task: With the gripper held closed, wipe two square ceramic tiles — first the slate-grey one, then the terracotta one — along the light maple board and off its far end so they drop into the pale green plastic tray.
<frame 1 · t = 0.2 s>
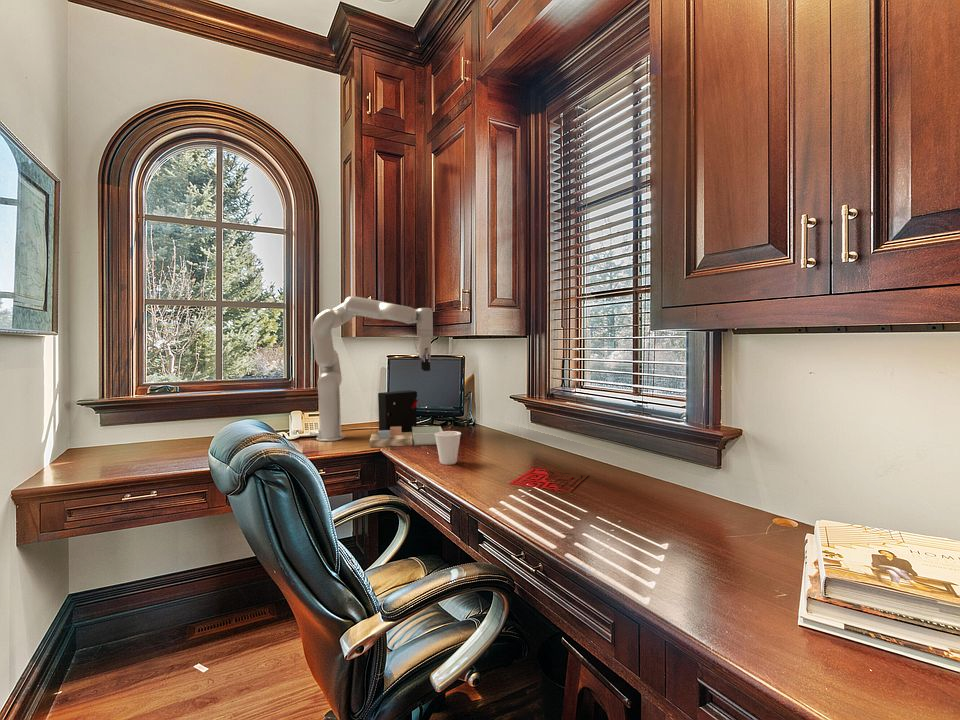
hand: (425, 370, 240), 31 cm above the table, tool pointing down, fingers open, 9 cm apart
board: (391, 442, 224), on the table
maze puzzle: (550, 481, 163), on the table
tray: (427, 441, 227), on the table
cup: (448, 463, 187), on the table
tile slate: (384, 438, 220), point 3 cm above the table, touching board
tile terracotta: (395, 434, 228), point 3 cm above the table, touching board
electrical component: (398, 432, 249), on the table
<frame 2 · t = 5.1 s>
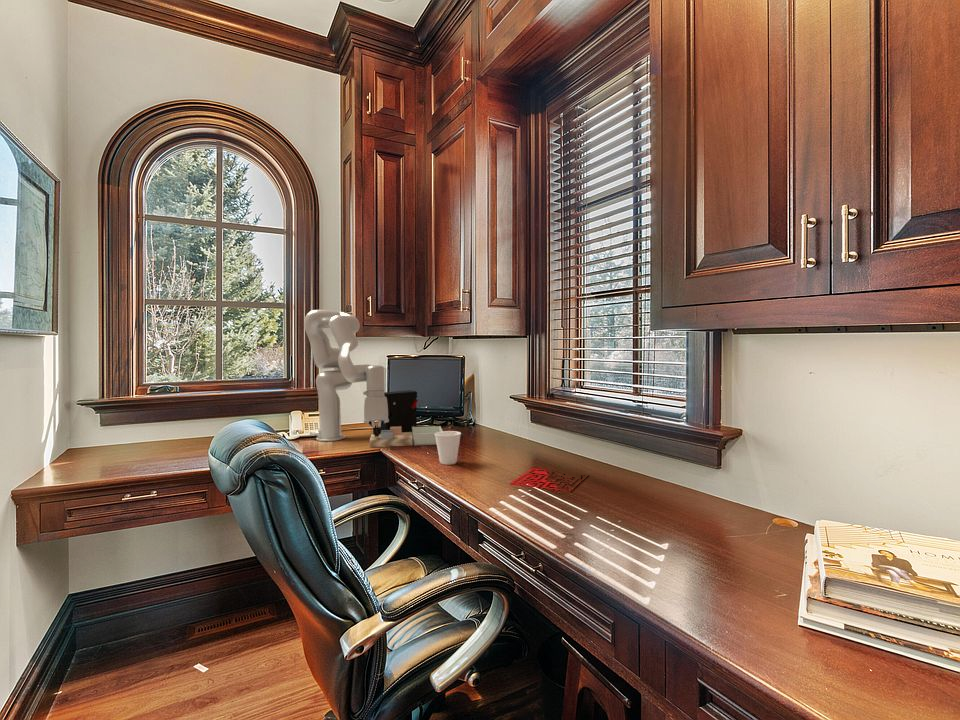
hand: (376, 436, 219), 4 cm above the table, tool pointing down, fingers closed
tile slate: (387, 437, 220), point 3 cm above the table, touching gripper
everything else where it was.
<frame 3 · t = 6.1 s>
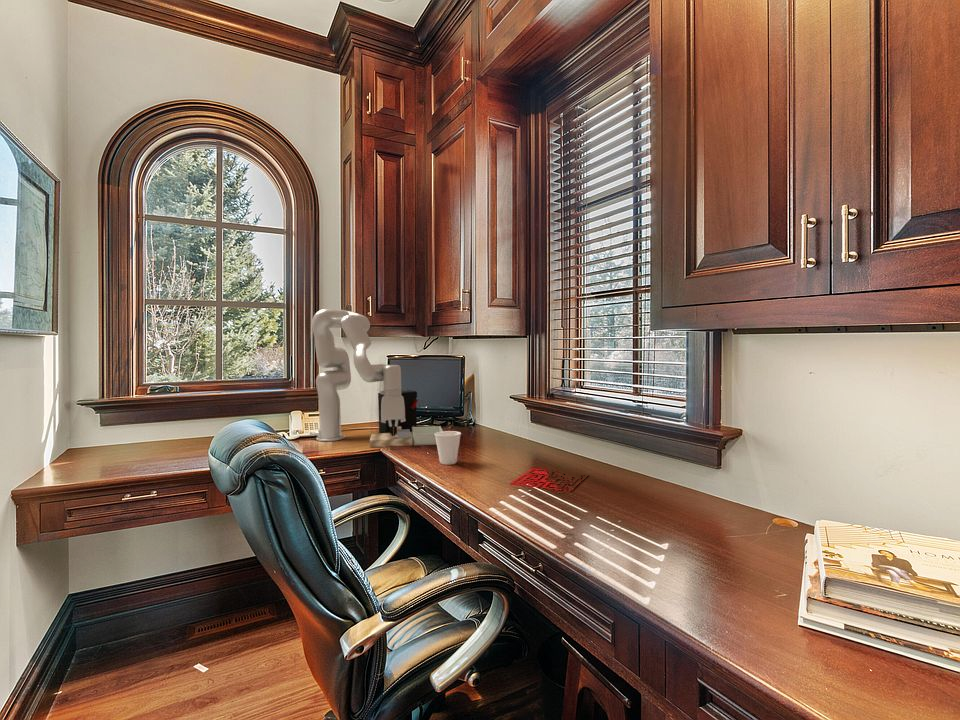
hand: (393, 435, 220), 4 cm above the table, tool pointing down, fingers closed
tile slate: (403, 437, 221), point 3 cm above the table, touching board, gripper
everything else where it was.
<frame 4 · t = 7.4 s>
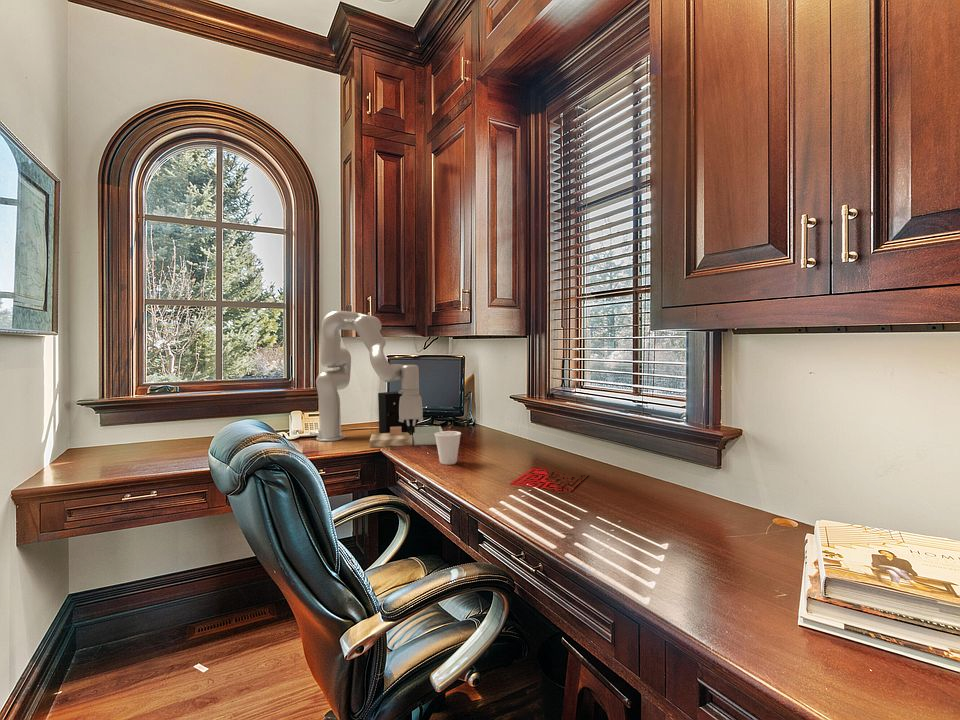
hand: (411, 434, 221), 4 cm above the table, tool pointing down, fingers closed
tile slate: (429, 435, 222), point 4 cm above the table, tilted 180°, touching tray
everything else where it was.
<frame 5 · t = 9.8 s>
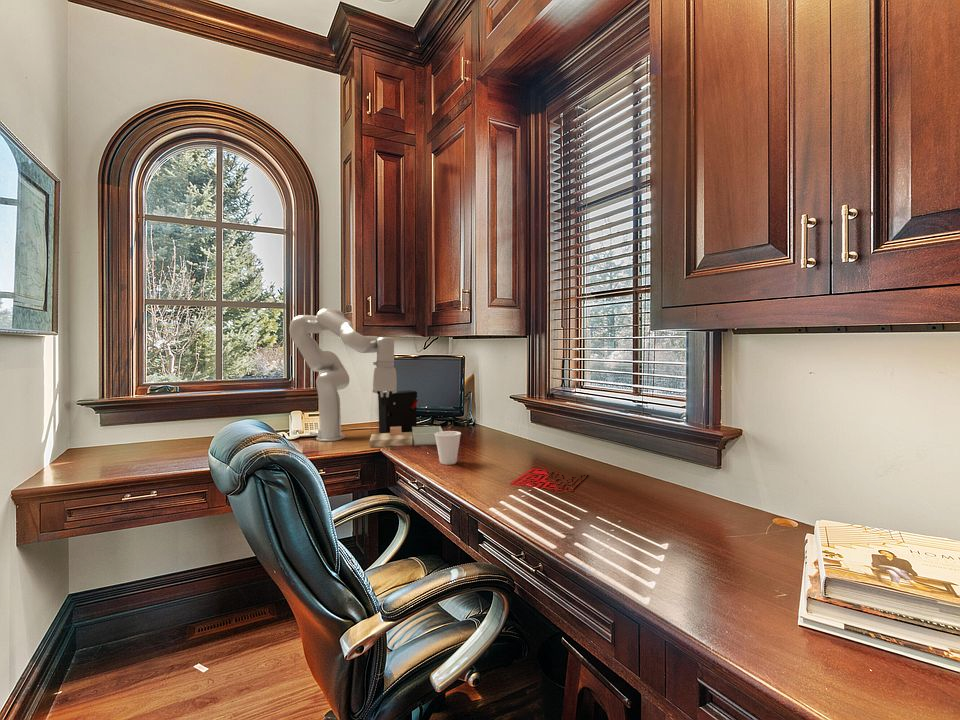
hand: (384, 405, 225), 16 cm above the table, tool pointing down, fingers closed
nothing on the table moved.
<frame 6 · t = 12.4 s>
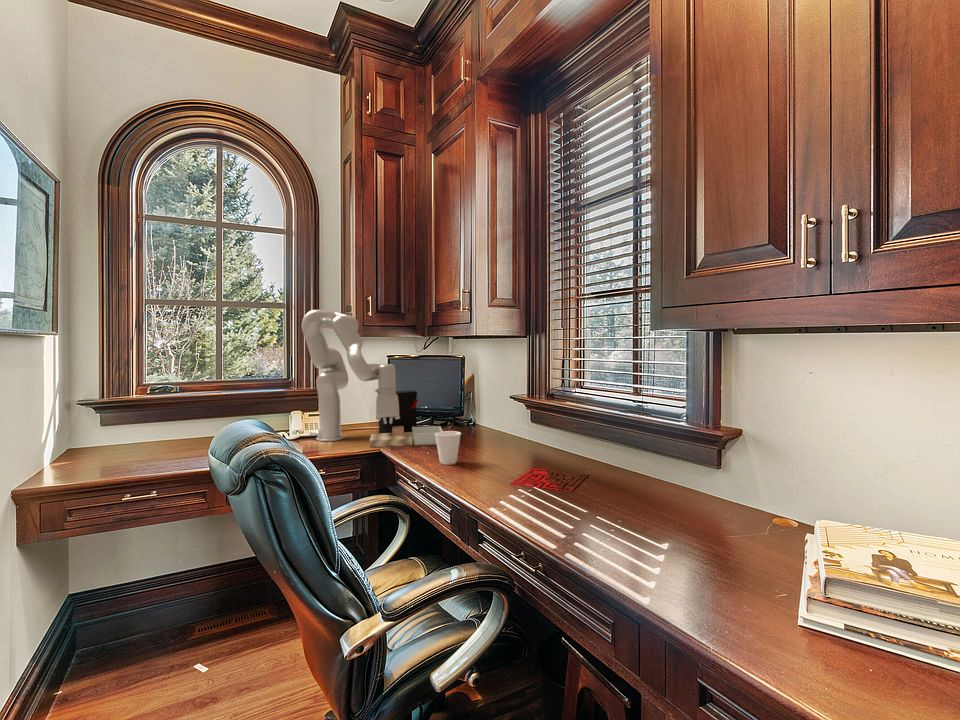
hand: (388, 432, 228), 4 cm above the table, tool pointing down, fingers closed
tile terracotta: (398, 434, 229), point 3 cm above the table, touching gripper
everything else where it was.
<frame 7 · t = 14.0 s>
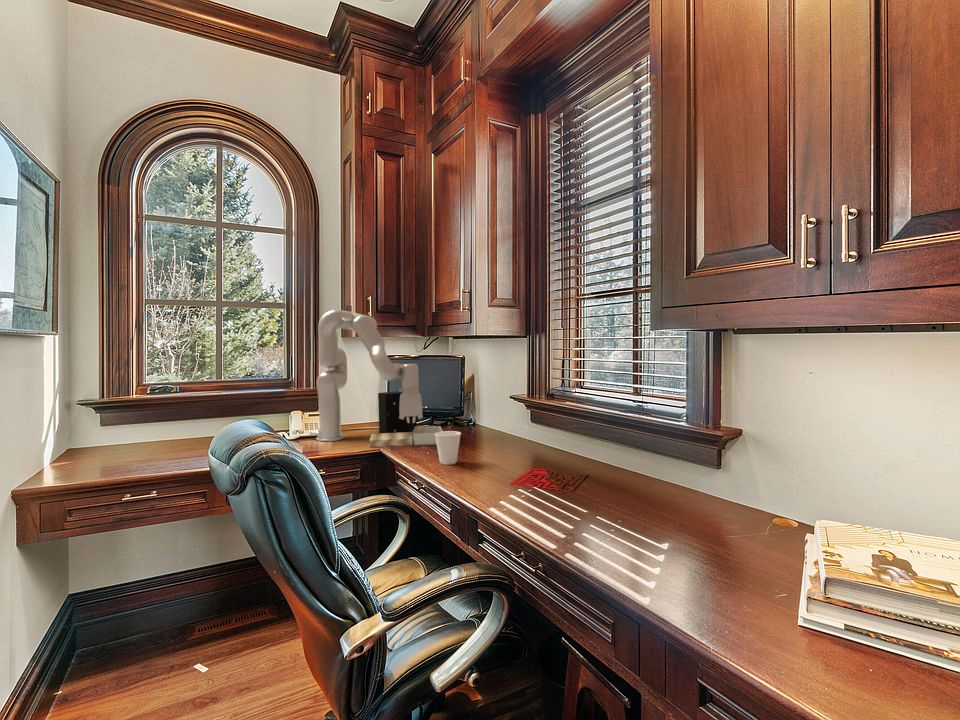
hand: (411, 431, 229), 4 cm above the table, tool pointing down, fingers closed
tile terracotta: (416, 433, 230), point 3 cm above the table, tilted 90°, touching tray
everything else where it was.
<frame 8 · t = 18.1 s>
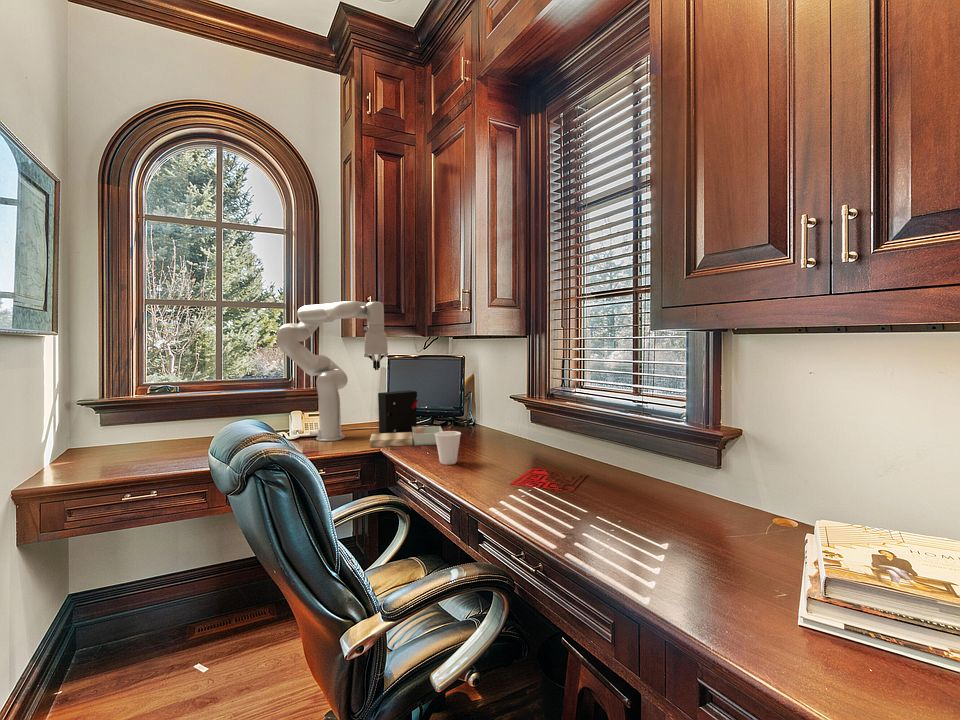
hand: (376, 369, 229), 32 cm above the table, tool pointing down, fingers closed
nothing on the table moved.
at the end: tile slate inside the target area on the tray (4.8 cm from its centre), point 3.6 cm above the tray's base; tile terracotta inside the target area on the tray (6.1 cm from its centre), point 3.1 cm above the tray's base; tile terracotta touching tray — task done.
